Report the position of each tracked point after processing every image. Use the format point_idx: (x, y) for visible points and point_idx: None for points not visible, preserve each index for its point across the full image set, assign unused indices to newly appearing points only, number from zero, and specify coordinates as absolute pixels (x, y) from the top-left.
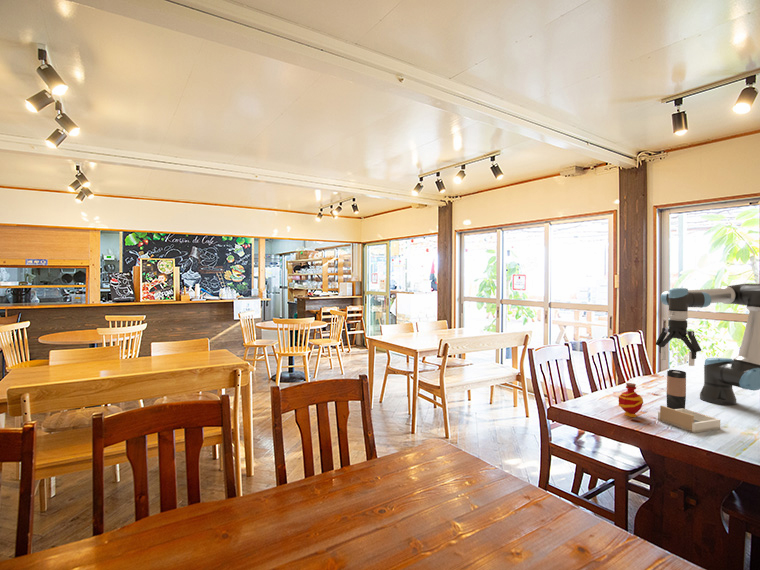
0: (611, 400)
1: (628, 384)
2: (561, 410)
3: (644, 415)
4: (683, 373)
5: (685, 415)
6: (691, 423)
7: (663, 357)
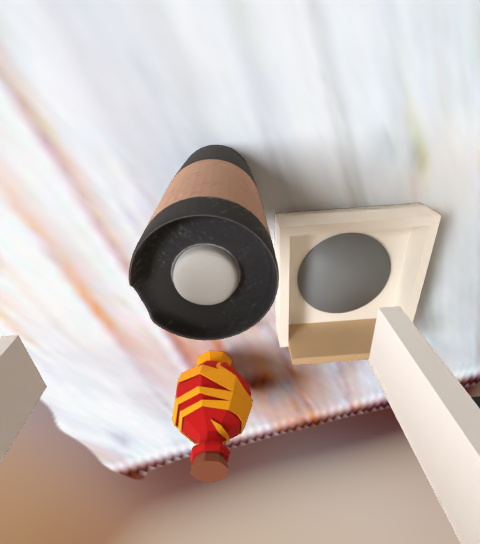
0: (44, 311)
1: (213, 481)
2: (147, 471)
3: None
4: (277, 286)
5: None
6: None
7: (16, 398)
